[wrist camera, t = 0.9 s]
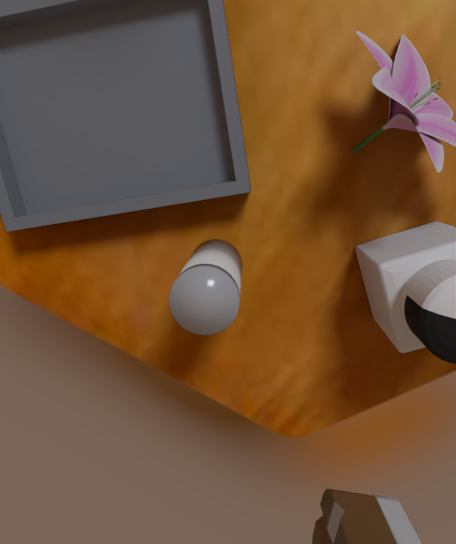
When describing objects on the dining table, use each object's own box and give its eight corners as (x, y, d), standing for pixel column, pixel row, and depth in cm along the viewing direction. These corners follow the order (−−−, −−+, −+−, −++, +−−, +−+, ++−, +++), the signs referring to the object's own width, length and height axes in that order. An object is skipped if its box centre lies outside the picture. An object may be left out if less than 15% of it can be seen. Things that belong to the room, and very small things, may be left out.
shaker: (237, 235, 36) (233, 263, 27) (245, 286, 37) (244, 330, 28) (185, 243, 37) (162, 273, 27) (195, 293, 38) (176, 339, 28)
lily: (448, 194, 36) (561, 141, 26) (330, 230, 32) (412, 185, 23) (397, 65, 37) (489, -28, 27) (277, 88, 33) (336, -9, 24)
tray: (218, -28, 31) (215, -47, 28) (250, 189, 35) (250, 192, 32) (-32, 25, 33) (-59, 13, 30) (25, 226, 37) (6, 231, 34)
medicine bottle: (454, 297, 37) (548, 360, 25) (373, 320, 38) (427, 391, 26) (437, 219, 35) (530, 249, 23) (353, 245, 36) (401, 286, 24)
